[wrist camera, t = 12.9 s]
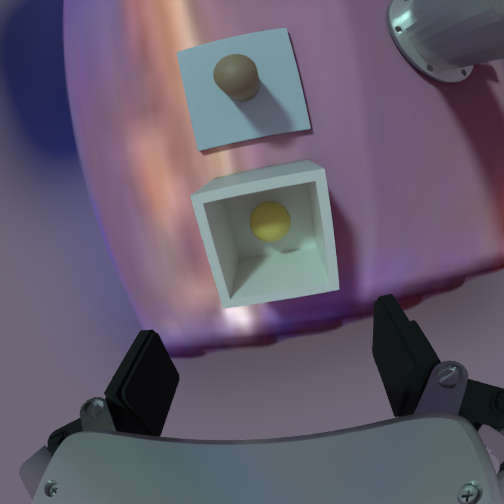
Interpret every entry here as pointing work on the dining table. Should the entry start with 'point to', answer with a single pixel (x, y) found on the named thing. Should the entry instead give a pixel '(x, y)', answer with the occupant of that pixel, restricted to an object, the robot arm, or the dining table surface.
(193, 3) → the dining table surface
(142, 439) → the robot arm
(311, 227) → the storage box
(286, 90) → the lid
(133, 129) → the dining table surface
